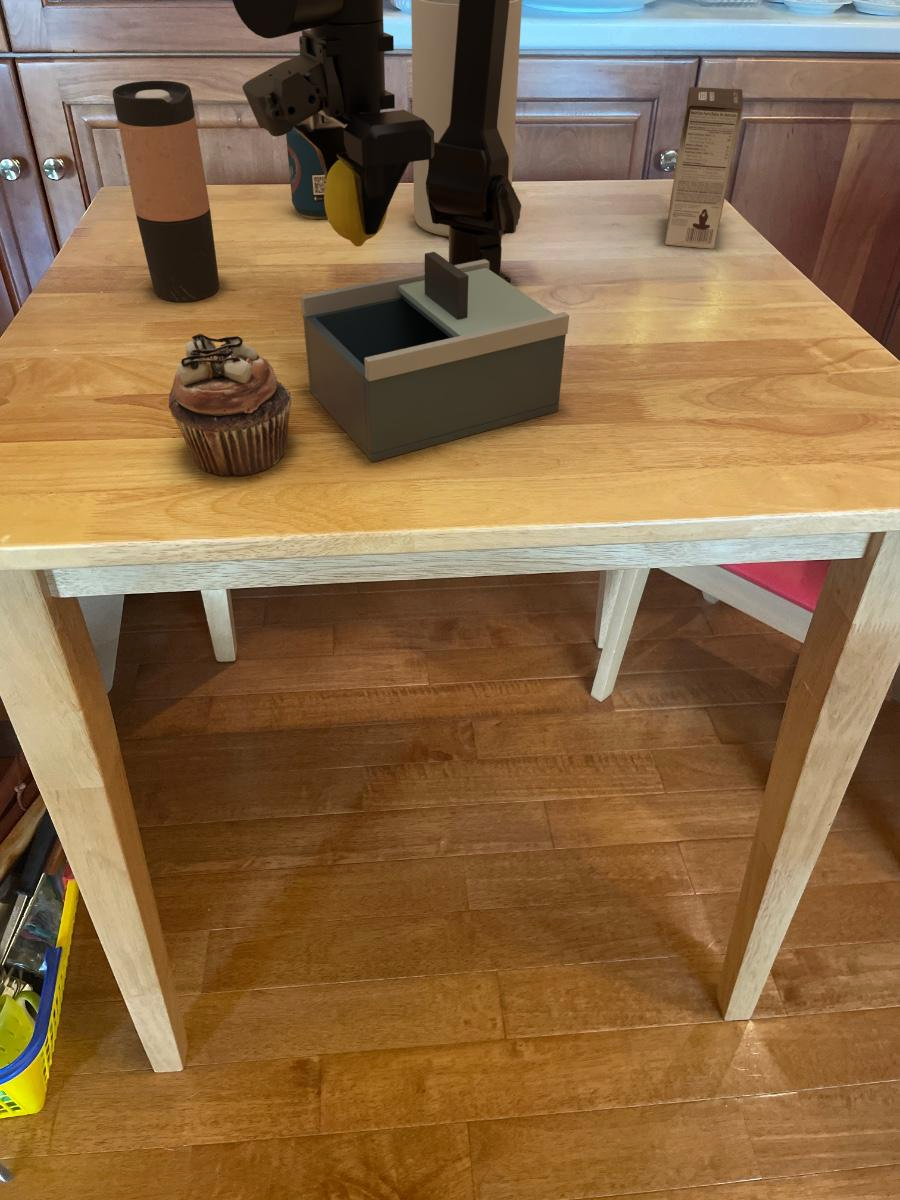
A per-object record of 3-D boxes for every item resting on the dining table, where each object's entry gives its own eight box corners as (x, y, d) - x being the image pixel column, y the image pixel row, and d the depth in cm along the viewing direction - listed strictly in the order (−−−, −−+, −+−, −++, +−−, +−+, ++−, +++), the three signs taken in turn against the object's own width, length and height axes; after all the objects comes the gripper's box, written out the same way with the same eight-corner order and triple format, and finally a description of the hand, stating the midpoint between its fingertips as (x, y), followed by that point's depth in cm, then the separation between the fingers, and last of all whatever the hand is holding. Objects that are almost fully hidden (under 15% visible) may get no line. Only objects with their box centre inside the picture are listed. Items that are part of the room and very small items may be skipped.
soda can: (290, 205, 125) (281, 106, 117) (341, 201, 126) (335, 104, 118) (296, 222, 120) (287, 121, 112) (349, 218, 121) (343, 118, 113)
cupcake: (301, 476, 75) (289, 362, 69) (179, 488, 74) (155, 373, 67) (291, 417, 82) (279, 309, 76) (180, 427, 81) (158, 318, 74)
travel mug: (157, 276, 106) (118, 80, 93) (225, 275, 106) (196, 79, 93) (146, 304, 100) (103, 99, 87) (218, 302, 101) (186, 98, 87)
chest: (309, 391, 86) (300, 295, 80) (481, 350, 93) (485, 258, 87) (373, 463, 77) (368, 361, 71) (559, 412, 84) (569, 315, 78)
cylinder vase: (511, 240, 116) (524, 6, 99) (411, 239, 116) (408, 4, 99) (508, 207, 125) (519, -12, 109) (416, 205, 125) (413, -14, 109)
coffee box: (665, 221, 122) (688, 84, 112) (715, 225, 121) (742, 88, 111) (663, 245, 115) (687, 103, 105) (716, 250, 114) (745, 107, 104)
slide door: (398, 291, 83) (396, 244, 80) (486, 273, 86) (488, 228, 84) (461, 343, 75) (462, 293, 73) (555, 321, 79) (559, 272, 76)
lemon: (397, 240, 85) (395, 146, 80) (374, 261, 81) (371, 163, 76) (342, 232, 86) (337, 139, 81) (317, 252, 82) (309, 156, 77)
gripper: (208, 6, 75) (234, 205, 85) (294, 48, 63) (312, 275, 73) (334, -2, 79) (345, 189, 89) (438, 36, 67) (436, 252, 77)
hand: (356, 223), depth 82 cm, fingers closed on lemon, 5 cm apart
